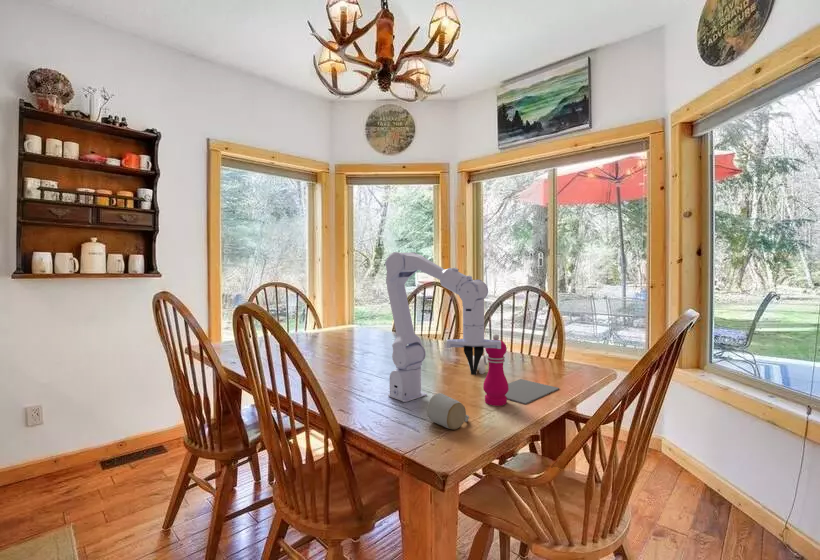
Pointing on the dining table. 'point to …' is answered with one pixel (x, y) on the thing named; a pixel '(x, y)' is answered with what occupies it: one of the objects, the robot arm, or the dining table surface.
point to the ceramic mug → (446, 411)
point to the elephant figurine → (481, 364)
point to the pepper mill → (496, 376)
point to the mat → (527, 391)
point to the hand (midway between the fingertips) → (473, 373)
